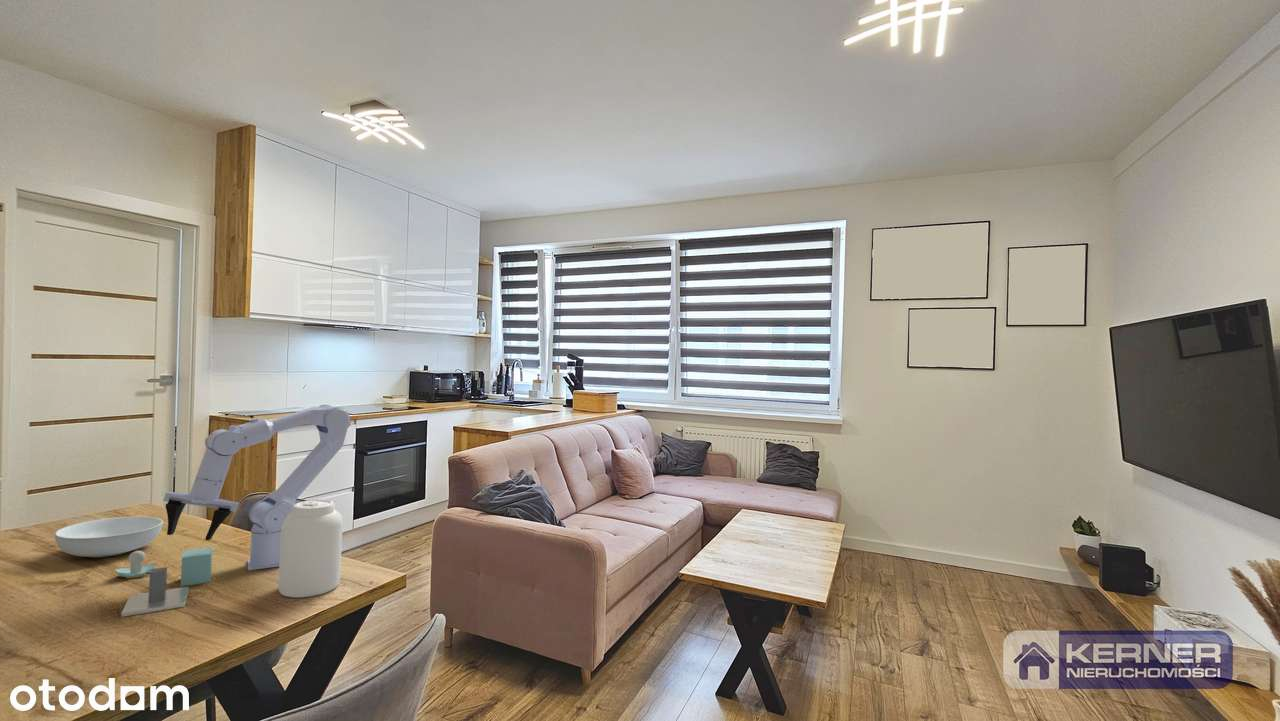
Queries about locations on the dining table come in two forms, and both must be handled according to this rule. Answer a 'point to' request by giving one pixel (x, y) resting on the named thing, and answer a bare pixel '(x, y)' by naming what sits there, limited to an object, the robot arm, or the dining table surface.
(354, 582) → the dining table surface
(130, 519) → the serving bowl
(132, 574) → the pacifier
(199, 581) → the teal block
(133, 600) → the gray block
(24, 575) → the dining table surface
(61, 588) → the dining table surface
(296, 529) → the white jar
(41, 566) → the dining table surface
